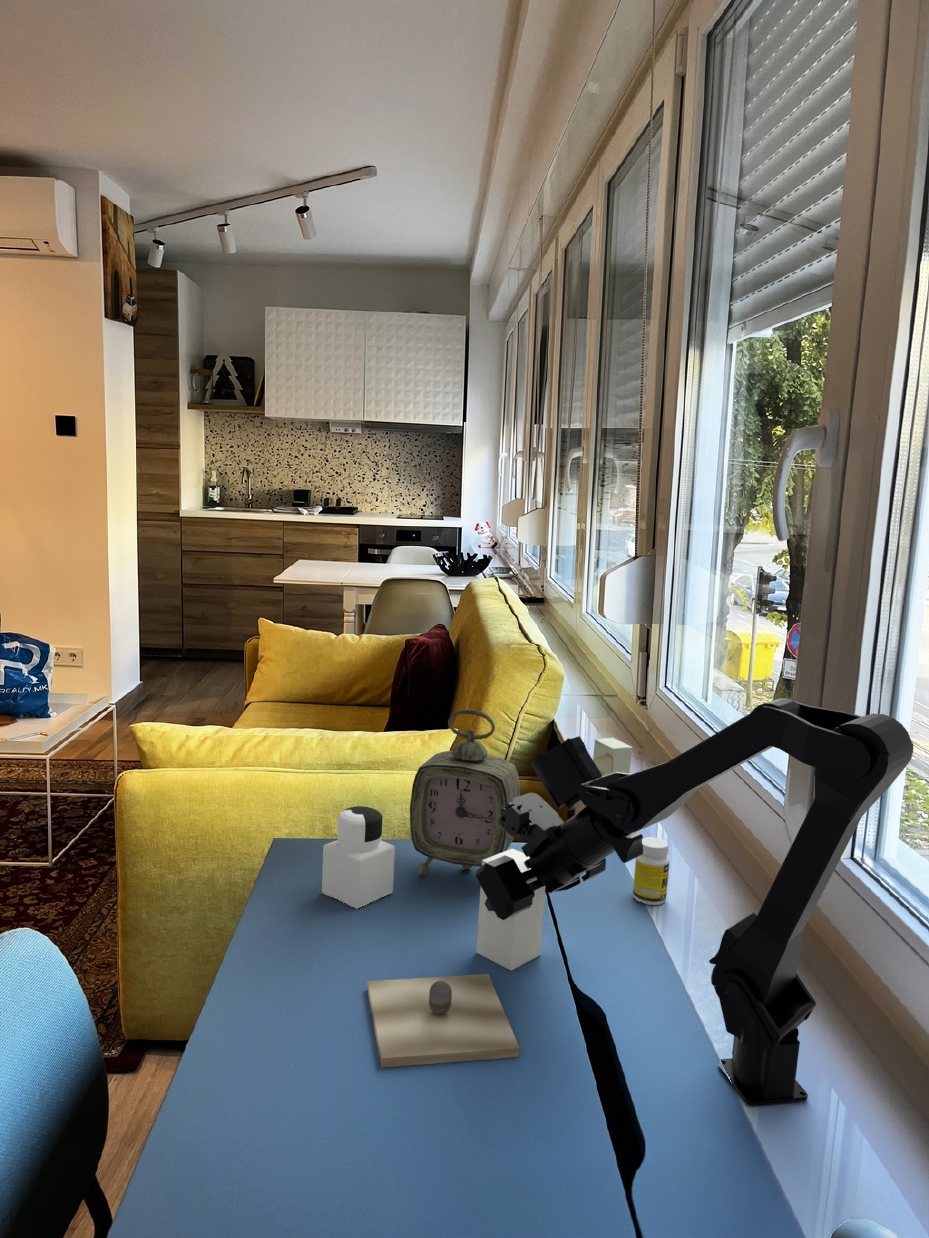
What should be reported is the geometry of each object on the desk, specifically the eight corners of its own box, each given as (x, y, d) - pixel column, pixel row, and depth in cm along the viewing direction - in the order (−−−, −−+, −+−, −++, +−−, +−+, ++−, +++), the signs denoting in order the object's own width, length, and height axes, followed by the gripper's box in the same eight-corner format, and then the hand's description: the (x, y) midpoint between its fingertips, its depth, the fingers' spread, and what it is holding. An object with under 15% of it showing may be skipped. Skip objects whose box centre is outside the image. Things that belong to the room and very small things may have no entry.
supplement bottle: (666, 908, 128) (671, 851, 127) (631, 903, 129) (636, 846, 128) (665, 893, 133) (670, 838, 131) (632, 888, 134) (637, 833, 132)
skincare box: (587, 802, 169) (592, 738, 167) (608, 799, 171) (613, 736, 169) (606, 814, 163) (612, 748, 162) (627, 811, 165) (633, 746, 163)
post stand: (519, 1056, 93) (521, 1015, 92) (381, 1067, 90) (383, 1025, 89) (487, 981, 107) (490, 945, 106) (367, 989, 104) (368, 952, 103)
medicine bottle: (357, 878, 132) (361, 798, 130) (393, 894, 128) (397, 811, 126) (320, 893, 127) (323, 810, 125) (356, 911, 122) (360, 824, 120)
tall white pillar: (540, 954, 113) (547, 862, 112) (511, 970, 109) (517, 875, 107) (506, 937, 117) (512, 848, 115) (476, 952, 113) (482, 860, 111)
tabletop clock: (406, 877, 133) (414, 710, 129) (427, 854, 142) (435, 696, 138) (502, 896, 129) (514, 723, 125) (518, 871, 137) (529, 708, 134)
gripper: (593, 765, 114) (519, 824, 123) (493, 797, 100) (418, 861, 109) (642, 845, 110) (562, 900, 119) (545, 889, 96) (463, 948, 105)
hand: (503, 899), depth 113 cm, fingers closed on tall white pillar, 6 cm apart
